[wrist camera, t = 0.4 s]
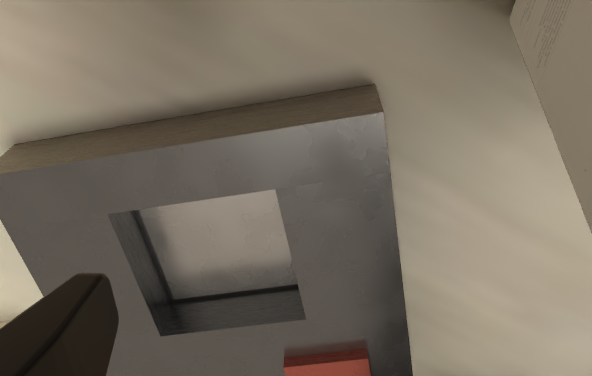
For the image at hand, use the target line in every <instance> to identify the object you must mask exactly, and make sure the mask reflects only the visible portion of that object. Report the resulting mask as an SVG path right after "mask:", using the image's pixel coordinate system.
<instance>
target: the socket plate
mask: <svg viewBox="0 0 592 376" xmlns="http://www.w3.org/2000/svg"><path fill="white" fill-rule="evenodd" d="M0 220H1V221H2V223H3V225H4V227H5V228H6V230H7V232H8V234H9V236H10V237H11V239H12V241H13V243H14V245H15V246H16V248H17V250H18V252H19V253H20V255H21V257H22V259H23V261H24V262H25V264H26V266H27V268H28V270H29V271H30V273H31V275H32V277H33V278H34V280H35V282H36V284H37V286H38V287H39V289H40V291H41V293H42V295H43V296H44V297H45V296H46V295H47V294H49V293H50V292H52V291H53V290H54V289H56V288H57V287H59V286H60V285H61V284H63V283H64V282H65V281H67V280H68V279H70V278H71V277H72V276H74V275H76V274H78V273H103V274H105V275H107V277H108V278H109V280H110V283H111V287H112V291H113V295H114V299H115V303H116V306H117V310H118V316H119V324H118V330H117V334H116V338H115V342H114V346H113V350H112V354H111V358H110V362H109V366H108V370H107V374H106V376H413V373H412V364H411V355H410V346H409V337H408V328H407V319H406V310H405V301H404V292H403V283H402V274H401V264H400V255H399V246H398V237H397V228H396V219H395V210H394V201H393V192H392V183H391V174H390V165H389V156H388V147H387V138H386V129H385V120H384V112H383V108H382V105H381V102H380V99H379V95H378V92H377V89H376V85H375V84H373V85H367V86H361V87H355V88H349V89H343V90H337V91H331V92H325V93H319V94H313V95H307V96H301V97H295V98H289V99H283V100H277V101H271V102H265V103H259V104H253V105H248V106H242V107H236V108H230V109H224V110H218V111H212V112H206V113H200V114H194V115H188V116H182V117H176V118H170V119H164V120H158V121H152V122H146V123H140V124H134V125H128V126H122V127H117V128H111V129H105V130H99V131H93V132H87V133H81V134H75V135H69V136H63V137H57V138H51V139H45V140H39V141H33V142H27V143H21V144H15V145H13V146H12V147H11V148H10V149H9V150H8V151H7V152H5V153H4V154H3V155H2V156H1V157H0Z"/></svg>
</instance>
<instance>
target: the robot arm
mask: <svg viewBox="0 0 592 376" xmlns="http://www.w3.org/2000/svg"><path fill="white" fill-rule="evenodd" d="M118 324H119V316H118V310H117V306H116V303H115V299H114V295H113V291H112V287H111V283H110V280H109V278H108V277H107V275H105V274H103V273H78V274H76V275H74V276H72V277H71V278H70V279H68V280H67V281H65V282H64V283H63V284H61V285H60V286H59V287H57V288H56V289H54V290H53V291H52V292H50V293H49V294H47V295H46V296H45V297H43V298H42V299H40V300H39V301H38V302H36V303H35V304H34V305H32V306H31V307H29V308H28V309H27V310H25V311H24V312H22V313H21V314H20V315H18V316H17V317H15V318H14V319H13V320H11V321H10V322H8V323H7V324H6V325H4V326H3V327H2V328H0V376H106V374H107V370H108V366H109V362H110V358H111V354H112V350H113V346H114V342H115V338H116V334H117V330H118Z"/></svg>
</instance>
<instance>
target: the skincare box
mask: <svg viewBox="0 0 592 376" xmlns="http://www.w3.org/2000/svg"><path fill="white" fill-rule="evenodd" d="M509 22H510V25H511V27H512V30H513V32H514V35H515V38H516V40H517V43H518V46H519V48H520V51H521V53H522V56H523V59H524V62H525V64H526V67H527V69H528V71H529V74H530V76H531V79H532V82H533V84H534V87H535V89H536V92H537V95H538V97H539V100H540V103H541V105H542V108H543V110H544V113H545V116H546V118H547V121H548V123H549V126H550V128H551V130H552V132H553V135H554V138H555V141H556V144H557V146H558V149H559V151H560V154H561V157H562V159H563V162H564V164H565V167H566V169H567V172H568V174H569V177H570V179H571V182H572V184H573V187H574V189H575V192H576V194H577V197H578V199H579V202H580V204H581V207H582V210H583V212H584V215H585V217H586V220H587V223H588V225H589V228H590V230H591V233H592V0H516V1H515V4H514V6H513V10H512V13H511V16H510V21H509Z"/></svg>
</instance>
